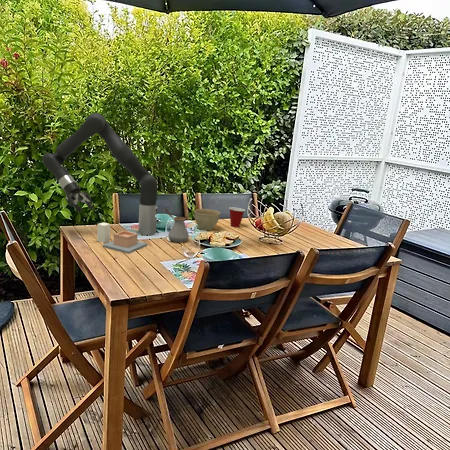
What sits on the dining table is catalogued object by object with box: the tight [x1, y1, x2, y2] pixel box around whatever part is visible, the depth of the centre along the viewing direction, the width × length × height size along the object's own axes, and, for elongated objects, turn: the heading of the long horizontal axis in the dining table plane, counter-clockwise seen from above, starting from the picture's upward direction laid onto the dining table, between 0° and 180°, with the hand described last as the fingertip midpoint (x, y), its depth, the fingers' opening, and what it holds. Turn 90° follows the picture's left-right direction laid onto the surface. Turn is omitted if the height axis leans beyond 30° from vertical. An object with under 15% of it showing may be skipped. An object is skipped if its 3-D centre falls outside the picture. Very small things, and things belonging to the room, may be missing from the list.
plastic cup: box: [228, 206, 246, 228], centre depth 267 cm, size 11×11×12 cm
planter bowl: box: [193, 208, 221, 231], centre depth 255 cm, size 16×16×11 cm
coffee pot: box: [162, 207, 190, 243], centre depth 229 cm, size 21×12×15 cm, turn 41°
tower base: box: [102, 230, 148, 255], centre depth 209 cm, size 16×16×7 cm
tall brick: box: [96, 222, 111, 244], centre depth 213 cm, size 4×4×10 cm
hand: (86, 210), depth 215 cm, fingers open, 8 cm apart
